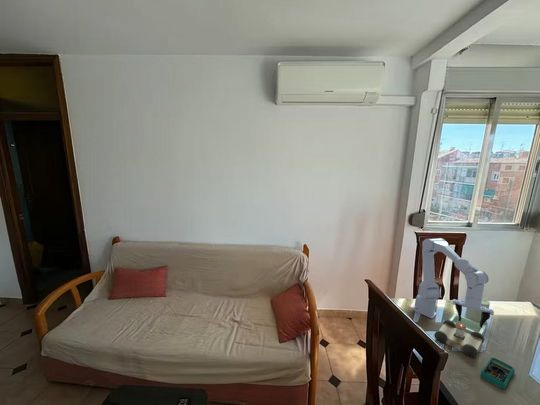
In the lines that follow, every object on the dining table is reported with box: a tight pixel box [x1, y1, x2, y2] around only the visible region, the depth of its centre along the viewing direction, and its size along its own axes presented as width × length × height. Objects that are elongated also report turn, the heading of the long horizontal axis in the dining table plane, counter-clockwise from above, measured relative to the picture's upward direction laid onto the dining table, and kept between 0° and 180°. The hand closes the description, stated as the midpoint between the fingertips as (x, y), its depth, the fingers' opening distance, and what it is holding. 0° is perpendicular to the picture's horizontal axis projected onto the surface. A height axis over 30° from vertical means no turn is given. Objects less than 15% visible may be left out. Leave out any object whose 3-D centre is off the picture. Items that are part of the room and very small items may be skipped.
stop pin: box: [455, 323, 466, 340], centre depth 114 cm, size 4×4×9 cm
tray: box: [449, 313, 487, 336], centre depth 123 cm, size 13×11×4 cm
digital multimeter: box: [479, 356, 516, 390], centre depth 97 cm, size 7×15×3 cm, turn 124°
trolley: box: [433, 319, 485, 359], centre depth 114 cm, size 16×15×5 cm
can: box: [464, 297, 491, 325], centre depth 132 cm, size 9×9×12 cm
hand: (470, 323), depth 113 cm, fingers open, 7 cm apart
